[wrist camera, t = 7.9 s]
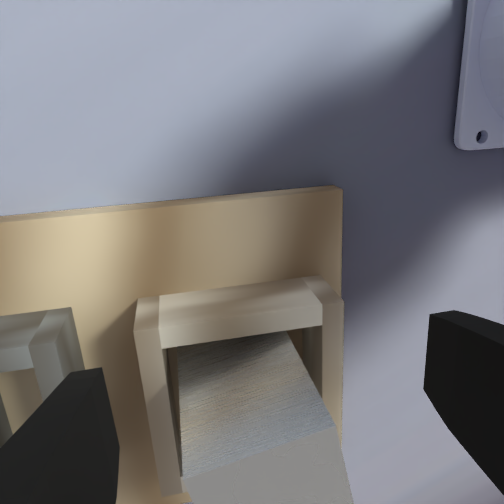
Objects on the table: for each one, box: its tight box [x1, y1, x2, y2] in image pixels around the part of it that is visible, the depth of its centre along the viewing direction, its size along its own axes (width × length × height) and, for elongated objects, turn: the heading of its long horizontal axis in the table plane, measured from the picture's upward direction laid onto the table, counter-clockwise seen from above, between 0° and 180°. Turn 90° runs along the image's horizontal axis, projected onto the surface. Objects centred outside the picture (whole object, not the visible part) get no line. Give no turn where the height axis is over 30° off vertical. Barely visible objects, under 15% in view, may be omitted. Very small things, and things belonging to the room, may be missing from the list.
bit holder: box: [0, 185, 344, 504], centre depth 17 cm, size 16×14×4 cm
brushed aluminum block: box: [177, 331, 354, 504], centre depth 15 cm, size 4×4×7 cm
